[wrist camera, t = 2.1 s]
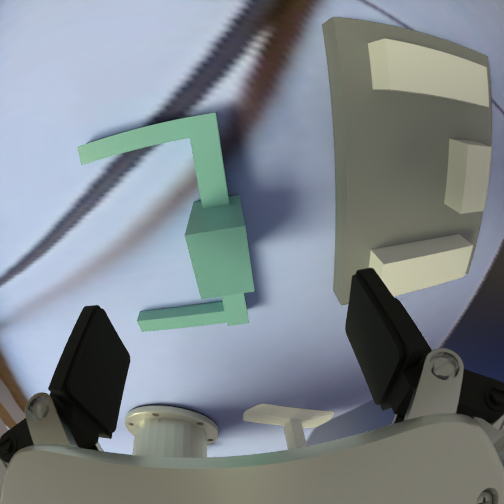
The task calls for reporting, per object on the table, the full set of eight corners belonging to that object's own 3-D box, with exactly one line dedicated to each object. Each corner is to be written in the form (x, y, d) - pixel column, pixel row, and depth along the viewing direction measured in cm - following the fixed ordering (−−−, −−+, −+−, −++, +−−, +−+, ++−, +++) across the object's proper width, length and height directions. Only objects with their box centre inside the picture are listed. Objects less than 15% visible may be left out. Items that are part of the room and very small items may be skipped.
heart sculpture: (344, 412, 34) (379, 519, 19) (323, 428, 36) (350, 529, 21) (247, 400, 30) (265, 546, 14) (229, 418, 32) (240, 548, 16)
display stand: (456, 262, 23) (479, 284, 20) (333, 290, 23) (350, 322, 19) (471, 56, 13) (505, 57, 10) (322, 24, 13) (346, 7, 10)
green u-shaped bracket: (255, 308, 23) (263, 354, 19) (144, 321, 23) (133, 367, 18) (227, 110, 16) (229, 111, 11) (85, 144, 15) (45, 160, 11)
